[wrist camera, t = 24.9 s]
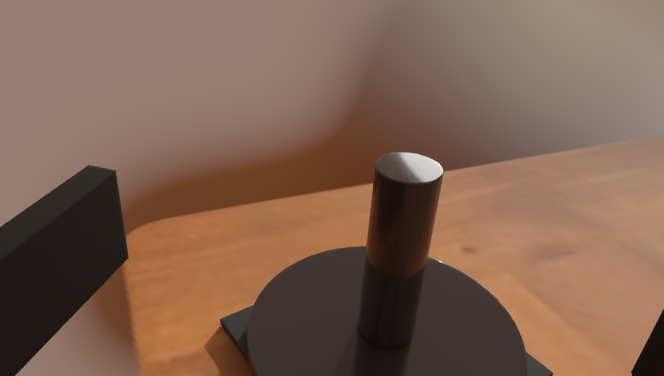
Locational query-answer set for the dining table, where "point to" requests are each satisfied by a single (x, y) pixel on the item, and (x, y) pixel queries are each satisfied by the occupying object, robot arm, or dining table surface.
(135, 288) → the dining table surface
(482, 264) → the dining table surface
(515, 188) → the dining table surface
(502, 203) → the dining table surface
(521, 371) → the lid
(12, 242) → the robot arm
